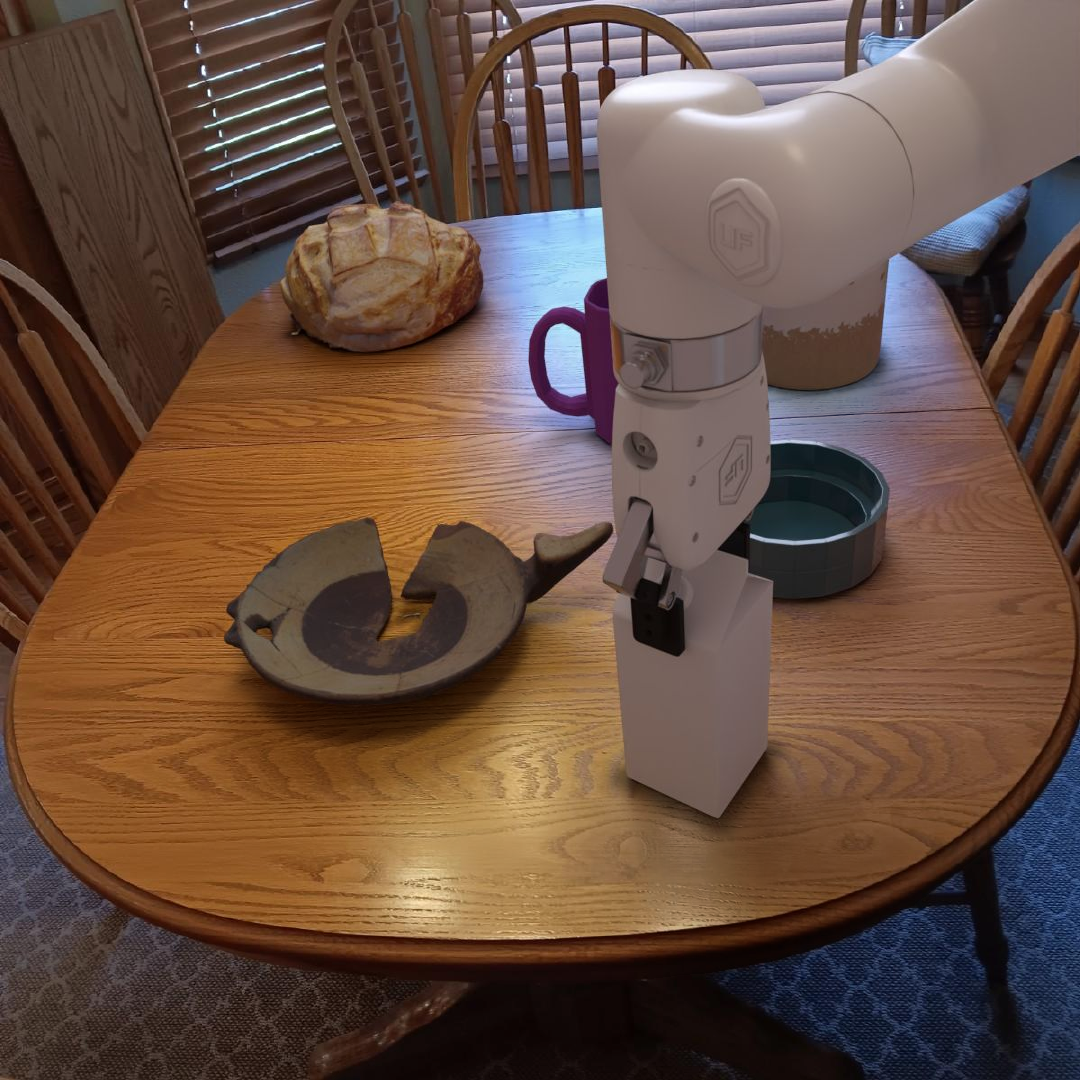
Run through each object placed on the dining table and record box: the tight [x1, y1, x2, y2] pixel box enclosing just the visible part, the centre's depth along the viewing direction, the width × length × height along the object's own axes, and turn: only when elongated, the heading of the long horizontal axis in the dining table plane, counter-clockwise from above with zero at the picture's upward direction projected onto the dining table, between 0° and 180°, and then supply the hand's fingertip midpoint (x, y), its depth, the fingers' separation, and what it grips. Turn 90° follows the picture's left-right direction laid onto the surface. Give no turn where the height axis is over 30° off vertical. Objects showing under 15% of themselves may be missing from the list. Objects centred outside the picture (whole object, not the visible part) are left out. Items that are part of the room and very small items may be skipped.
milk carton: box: [611, 533, 774, 819], centre depth 66 cm, size 7×7×19 cm
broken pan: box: [223, 516, 614, 707], centre depth 82 cm, size 22×30×8 cm
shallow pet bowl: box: [744, 439, 891, 600], centre depth 88 cm, size 15×15×6 cm
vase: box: [762, 259, 890, 391], centre depth 111 cm, size 15×15×17 cm
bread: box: [279, 199, 484, 353], centre depth 134 cm, size 25×27×15 cm
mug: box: [528, 277, 619, 445], centre depth 104 cm, size 9×16×15 cm, turn 75°
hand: (693, 605), depth 63 cm, fingers closed on milk carton, 7 cm apart
